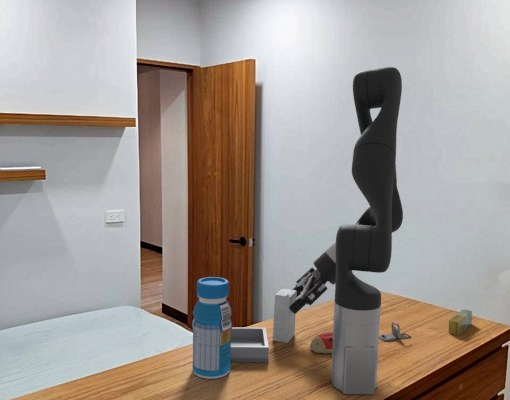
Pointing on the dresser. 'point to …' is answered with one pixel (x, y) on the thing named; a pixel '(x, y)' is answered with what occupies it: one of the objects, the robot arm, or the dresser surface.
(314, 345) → the ladybug figurine
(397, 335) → the strap clip
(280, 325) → the skincare box
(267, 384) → the dresser surface
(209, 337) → the beverage bottle
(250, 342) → the gray open square tray
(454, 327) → the medication box
